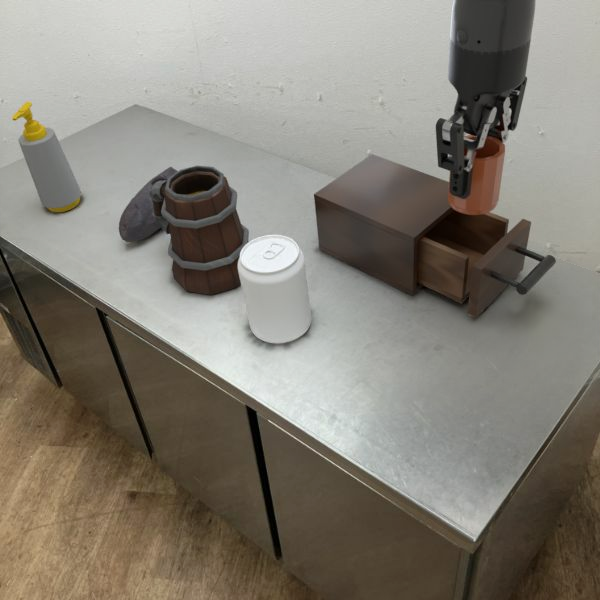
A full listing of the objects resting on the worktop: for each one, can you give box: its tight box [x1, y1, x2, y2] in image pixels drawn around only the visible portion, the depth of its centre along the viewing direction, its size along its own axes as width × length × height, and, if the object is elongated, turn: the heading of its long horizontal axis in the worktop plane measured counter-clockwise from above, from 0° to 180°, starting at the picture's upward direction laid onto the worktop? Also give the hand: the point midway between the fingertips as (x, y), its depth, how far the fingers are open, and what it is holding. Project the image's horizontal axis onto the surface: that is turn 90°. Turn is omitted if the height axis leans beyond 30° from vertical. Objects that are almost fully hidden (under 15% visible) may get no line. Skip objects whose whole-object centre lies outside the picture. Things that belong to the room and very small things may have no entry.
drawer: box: [417, 210, 557, 319], centre depth 84 cm, size 20×12×8 cm, turn 47°
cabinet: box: [313, 153, 454, 297], centre depth 91 cm, size 17×13×10 cm
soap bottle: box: [11, 101, 82, 213], centre depth 106 cm, size 7×7×18 cm
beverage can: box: [238, 234, 312, 344], centre depth 81 cm, size 8×8×12 cm
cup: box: [448, 134, 506, 215], centre depth 73 cm, size 6×6×7 cm
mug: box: [149, 165, 250, 296], centre depth 91 cm, size 16×12×15 cm
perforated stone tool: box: [118, 166, 179, 243], centre depth 102 cm, size 15×5×7 cm, turn 147°
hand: (474, 182), depth 73 cm, fingers closed on cup, 5 cm apart
